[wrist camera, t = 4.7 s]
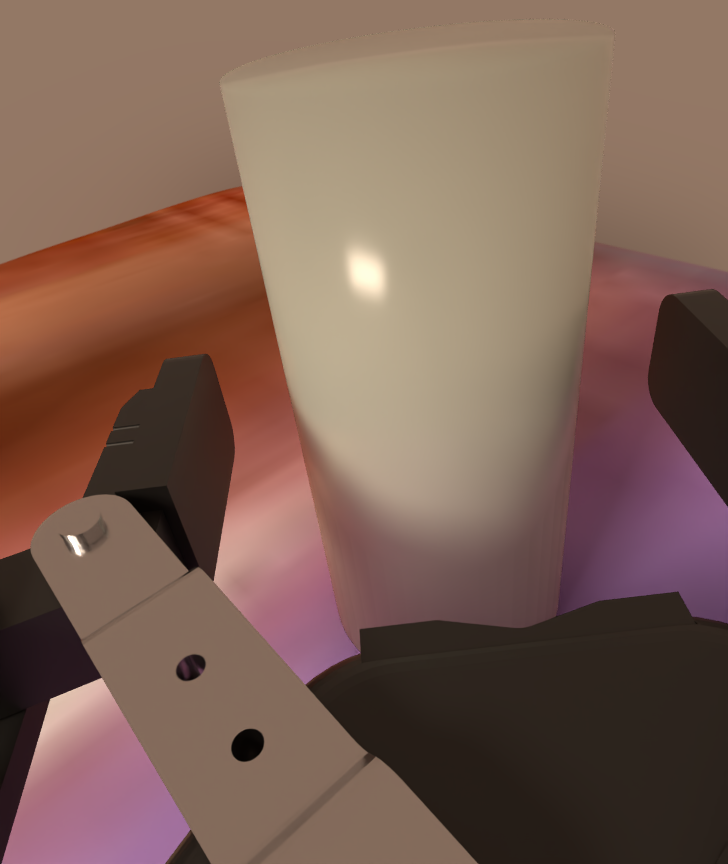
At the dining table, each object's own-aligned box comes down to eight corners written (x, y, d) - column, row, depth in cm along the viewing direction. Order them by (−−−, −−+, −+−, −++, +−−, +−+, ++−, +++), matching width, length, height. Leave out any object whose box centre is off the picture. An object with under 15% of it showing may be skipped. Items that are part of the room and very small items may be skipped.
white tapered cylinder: (292, 604, 17) (143, 89, 10) (424, 484, 20) (387, 25, 13) (474, 736, 14) (456, 104, 6) (599, 567, 17) (683, 12, 9)
